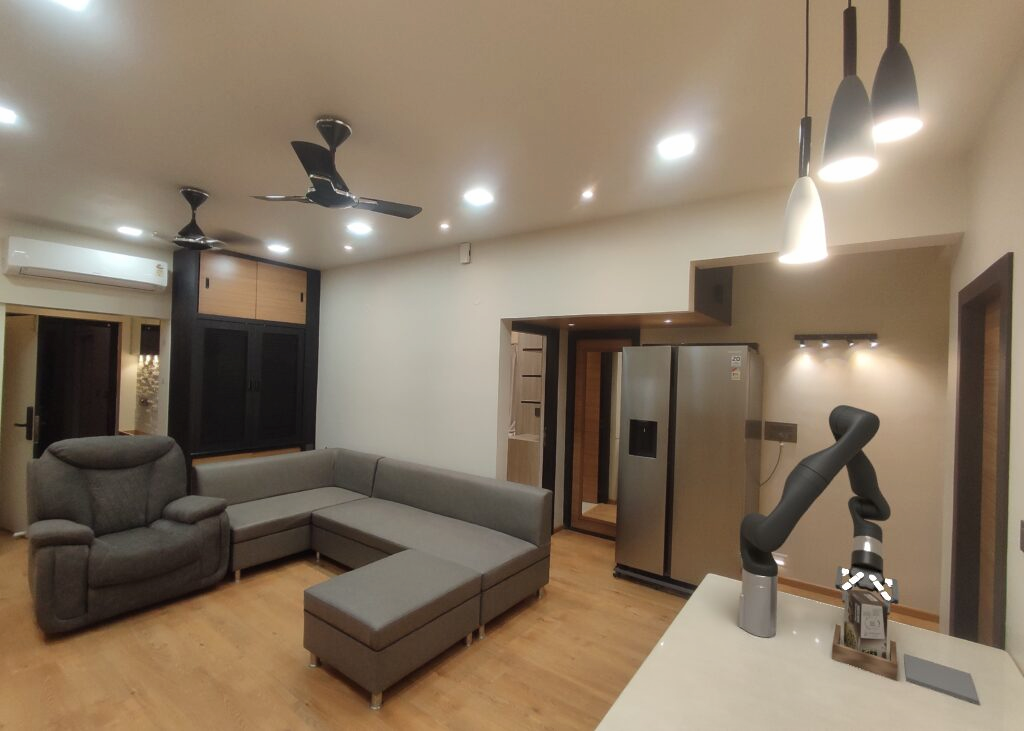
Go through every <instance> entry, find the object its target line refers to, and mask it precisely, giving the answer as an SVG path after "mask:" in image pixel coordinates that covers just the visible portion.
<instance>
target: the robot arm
mask: <svg viewBox="0 0 1024 731" xmlns="http://www.w3.org/2000/svg"><path fill="white" fill-rule="evenodd" d="M829 413H830V414H829V416H828V423H829V424H828V425H829V428H830V432H831V433H832V436H833V438H834V440H835V443H833V444H832V445H830V446H829V447H827V448H823V449H822V450H819V451H817V452H814V453H812V454H809V455H807V456H805V457H804V458H802V459H801V460H800V461H799V462H798V463H797V464H796V465H795V466H794V467H793V469H791V471H790V473H789V474H788V475H787V477H786V480H785V482H784V485H783V490H782V494H781V498H780V500H779V502H778V503H777V505H776V506H775V508H774V509H773V510H772V511H771V512H770V513H769V514H768V515H767V516H766V515H764V514H762V513H760V512H751V513H748V514H747V515H745V516H744V517H743V519H742V521H741V523H740V528H739V553H740V557H741V561H742V574H741V592H740V594H739V609H738V610H739V612H738V614H739V615H738V627H739V628H741V629H743V630H745V631H746V632H747V633H749V634H751V635H755V636H757V637H761V638H773V637H774V636H776V633H777V611H778V608H777V606H778V583H779V582H778V580H779V578H778V576H779V571H778V570H779V565H778V563H777V561H776V559H775V558H774V556H773V553H772V552H776V551H778V550H779V549H780V548H781V547H783V545H784V543H786V541H787V539H788V538H789V536H790V535H791V533H792V532H793V530H794V528H795V527H796V526H797V524H798V522H799V521H800V520H801V519H802V517H803V516H804V515H805V513H806V512H807V511H808V510H809V508H810V507H811V506H812V505H813V504H814V502H815V501H816V500H817V499H818V498H819V497H820V496H821V494H823V492H824V491H825V490H826V489H827V488H828V487H829V485H830V484H831V483H832V482H833V481H834V478H836V476H837V475H838V474H839V473H840V472H841V471H842V470H843V469H844V468H846V471H847V476H848V481H849V486H850V489H851V492H853V494H854V495H853V496H851V497H850V498H849V499H848V501H847V506H848V507H847V508H848V510H849V514H850V516H851V519H852V525H853V537H852V538H853V539H852V545H851V554H850V555H851V557H850V568H849V570H848V569H845V568H843V567H842V565H841V566H840V565H839V566H838V565H837V569H836V570H837V571H836V575H835V576H836V577H835V582H834V583H835V586H834V587H835V589H837V590H840V591H841V593H842V594H841V596H842V597H841V598H842V599H841V601H842V603H843V604H845V589H847V590H855V588H859V590H863V591H865V590H866V591H868V592H870V593H874V592H876V594H877V595H878V596H879V597H880V598H881V599H882V602H883V603H884V604H885V605H887V606H888V616H890V614H891V604H895V605H898V604H899V603H900V602H899V600H900V597H899V596H900V595H899V583H898V580H897V579H895V578H892V579H888V578H885V577H884V559H885V558H884V557H885V556H884V547H883V535H884V534H883V529H882V527H881V526H880V525H879V524H877V523H876V522H873V521H877V522H885V521H887V520H889V518H890V517H891V512H892V511H891V507H890V504H889V503H888V501H887V499H886V498H885V496H884V495H883V494H882V491H881V488H880V487H879V482H878V477H877V472H876V470H875V467H874V465H873V464H872V462H871V460H870V459H869V457H868V456H867V454H866V453H865V452H864V450H863V448H864V447H866V445H868V444H869V443H870V441H872V440H873V438H874V437H875V436H876V434H877V433H878V431H879V429H880V425H881V422H880V418H879V416H878V415H877V414H875V413H873V412H871V411H868V410H865V409H861V408H859V407H855V406H851V405H847V404H846V405H845V404H844V405H843V404H841V405H837V406H836V407H834V408H833V409H832V410H831V412H829ZM846 575H847V576H848V577H849V578H850V579H849V580H848V581H846V583H845V584H843V583H842V581H843V578H845V577H846ZM885 585H887V586H888V588H889V589H891V595H892V596H889V594H888V593H887V592H886V590H885V589H884V587H883V586H885Z"/></svg>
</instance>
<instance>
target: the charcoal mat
mask: <svg viewBox="0 0 1024 731" xmlns="http://www.w3.org/2000/svg"><path fill="white" fill-rule="evenodd" d="M903 661H904V663H903V664H904V671H905V681H906V682H909V683H912V684H914V685H917V686H920V687H924V688H926V689H929V688H930V689H929V690H932V691H935V692H939V693H941V694H943V695H948V696H950V697H953V698H956V699H958V700H962V701H965V702H968V703H971V704H974V705H977V706H980V699H979V696H978V692H977V690H976V687H975V683H974V681H973V678H972V675H971V673H969V672H966V671H963V670H960V669H958V668H957V669H956V668H954V667H953V668H952V667H950V666H946V665H943V664H940V663H937V662H934V661H931V660H927V659H923V658H920V657H917V656H914V655H911V654H907V653H903Z"/></svg>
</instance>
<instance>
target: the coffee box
mask: <svg viewBox="0 0 1024 731" xmlns="http://www.w3.org/2000/svg"><path fill="white" fill-rule="evenodd" d="M843 610H844V612H843V615H844V616H843V622H844V623H843V646H846V647H849V648H853V649H856V650H859V651H862V652H865V653H868V654H871V655H875V656H878V657H881V658H884V659H887V643H888V642H887V641H888V619H889V618H888V616H889V615H888V606H887V605H885V604H884V601H883V600H880V599H879V598H878V597H876V596H875V595H874V593H873V592H871V591H868V590H866V591H865V590H860V589H859V590H855V589H853V590H847V589H845V603H844V609H843Z"/></svg>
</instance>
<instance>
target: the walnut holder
mask: <svg viewBox="0 0 1024 731" xmlns="http://www.w3.org/2000/svg"><path fill="white" fill-rule="evenodd" d="M834 626H835V627H834V634H833V639H832V644H831V646H832V648H831V649H832V650H831V660H833V661H836V662H839V663H842V664H844V663H845V664H846V665H847V664H849V665H848V666H850V665H851V667H853V666H854V668H856V667H858V668H857V669H859V668H861V669H860V670H862V669H864V670H863V671H865V670H866V671H865V672H868V671H869V672H868V673H872V674H874V673H875V674H874V675H877V674H878V675H877V676H880V675H881V676H880V677H883V676H884V678H887V679H889V680H893V681H895V682H898V655H897V654H898V652H897V642H896V641H893V640H889V659H888V658H886V659H884V658H881V657H878V656H875V655H871V654H868V653H865V652H862V651H859V650H856V649H853V648H849V647H846V646H844V644H841V640H842V639H841V636H842V635H841V632H842V631H841V630H842V629H841V628H842V625H840V624H836V623H835V625H834Z"/></svg>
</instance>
